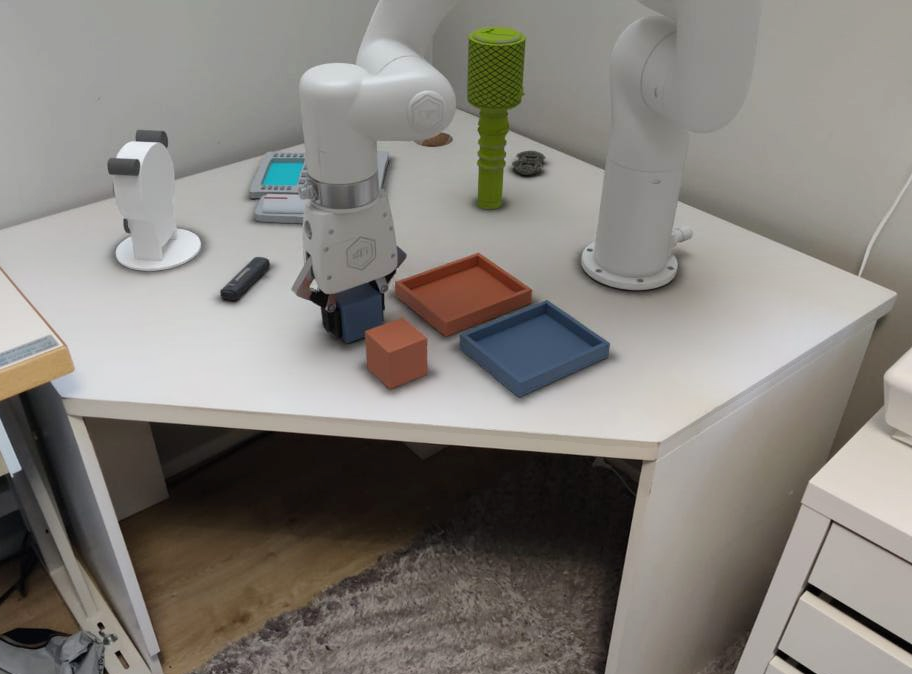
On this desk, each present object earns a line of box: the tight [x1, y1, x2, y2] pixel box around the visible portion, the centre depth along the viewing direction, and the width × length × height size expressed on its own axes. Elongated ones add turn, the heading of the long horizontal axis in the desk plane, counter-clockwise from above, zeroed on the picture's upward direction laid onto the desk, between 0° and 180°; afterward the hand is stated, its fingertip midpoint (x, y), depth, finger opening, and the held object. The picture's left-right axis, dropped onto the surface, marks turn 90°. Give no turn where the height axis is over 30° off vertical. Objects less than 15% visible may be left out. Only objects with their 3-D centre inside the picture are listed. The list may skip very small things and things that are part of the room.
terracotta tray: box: [394, 252, 533, 337], centre depth 112 cm, size 13×11×2 cm
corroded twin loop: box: [511, 150, 546, 176], centre depth 143 cm, size 5×8×1 cm, turn 166°
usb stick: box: [220, 256, 271, 301], centre depth 115 cm, size 10×3×2 cm, turn 160°
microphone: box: [466, 26, 527, 210], centre depth 125 cm, size 8×8×25 cm
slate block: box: [336, 282, 384, 344], centre depth 105 cm, size 5×5×5 cm
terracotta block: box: [364, 316, 428, 390], centre depth 99 cm, size 5×5×5 cm
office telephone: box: [249, 150, 390, 225], centre depth 136 cm, size 23×3×20 cm
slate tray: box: [459, 299, 611, 398], centre depth 103 cm, size 13×11×2 cm
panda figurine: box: [106, 129, 202, 272], centre depth 118 cm, size 12×11×15 cm
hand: (354, 323), depth 107 cm, fingers closed on slate block, 5 cm apart
